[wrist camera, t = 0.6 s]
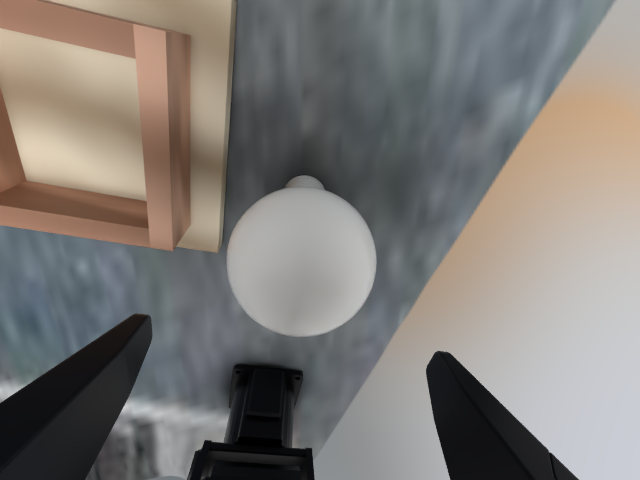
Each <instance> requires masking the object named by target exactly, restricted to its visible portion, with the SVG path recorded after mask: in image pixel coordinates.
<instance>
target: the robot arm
mask: <svg viewBox="0 0 640 480" xmlns="http://www.w3.org/2000/svg"><path fill="white" fill-rule="evenodd" d="M151 340H152V323H151V317H150V316H149V315H145V314H134V315H132V316H130V317H129V318H127V319H126V320H124V321H123V322H121V323H120V324H118V325H117V326H115V327H114V328H112V329H111V330H109V331H108V332H106V333H105V334H103V335H102V336H100V337H99V338H97V339H96V340H94V341H93V342H91V343H90V344H88V345H87V346H85V347H84V348H82V349H81V350H79V351H78V352H76V353H75V354H73V355H72V356H70V357H69V358H67V359H66V360H64V361H63V362H61V363H60V364H58V365H57V366H55V367H54V368H52V369H51V370H49V371H48V372H46V373H45V374H43V375H42V376H40V377H39V378H37V379H36V380H34V381H33V382H31V383H30V384H28V385H27V386H25V387H24V388H22V389H21V390H19V391H18V392H16V393H15V394H13V395H12V396H10V397H9V398H7V399H6V400H4V401H3V402H1V403H0V480H85V479H86V477H87V475H88V473H89V471H90V469H91V467H92V465H93V463H94V462H95V460H96V458H97V456H98V454H99V452H100V450H101V448H102V446H103V445H104V443H105V441H106V439H107V437H108V435H109V433H110V431H111V429H112V428H113V426H114V424H115V422H116V420H117V418H118V416H119V414H120V412H121V410H122V409H123V407H124V405H125V403H126V401H127V399H128V397H129V395H130V393H131V391H132V388H133V386H134V383H135V381H136V378H137V376H138V373H139V371H140V368H141V366H142V363H143V361H144V358H145V356H146V353H147V351H148V348H149V346H150V343H151ZM426 375H427V381H428V387H429V393H430V398H431V405H432V410H433V416H434V421H435V425H436V429H437V432H438V436H439V440H440V443H441V447H442V451H443V454H444V458H445V462H446V465H447V469H448V473H449V476H450V480H579V479H578V478H576V477H575V476H574V475H573V474H572V473H571V472H570V471H569V470H568V469H567V468H566V467H565V466H564V465H563V464H562V463H561V462H560V461H559V460H558V459H557V458H556V457H555V456H554V455H553V454H552V453H549V451H548V449H547V448H546V447H545V446H543V445H542V443H541V442H540V441H538V440H537V438H536V437H534V435H532V434H531V433H530V432H529V431H528V430H527V429H526V428H525V427H524V426H523V425H522V424H521V423H520V422H519V421H518V420H517V419H516V418H515V417H514V416H513V415H512V414H511V413H510V412H509V411H508V410H507V409H506V408H505V407H504V406H503V405H502V404H501V403H500V402H499V401H498V400H497V399H496V398H495V397H494V396H493V395H492V394H491V393H490V392H489V391H488V390H487V389H486V388H485V387H484V386H483V385H482V384H481V383H480V382H479V381H478V380H477V379H476V378H475V377H474V376H473V375H472V374H471V373H470V372H469V371H468V370H467V369H466V368H465V367H463V366H462V364H460V362H458V361H457V360H456V359H455V358H454V357H453V356H452V355H451V354H450V353H448V352H443V351H437V352H435V354H434V355H433V357H432V359H431V360H430V362H429V364H428V366H427V369H426ZM302 381H303V373H302V372H299V371H291V370H282V369H272V368H263V367H254V366H244V365H236V366H234V368H233V373H232V383H231V392H230V401H229V408H230V409H231V411H230V415H229V420H228V424H227V429H226V434H225V438H224V443H218V442H212V441H210V440H205V441H204V444H203V447H202V449H200V450H198V451H196V452H195V455H194V458H193V462H192V465H191V468H190V472H189V475H188V478H187V480H314V469H313V457H312V448H305V449H299V448H292V435H293V411H294V408H295V405H296V401H297V398H298V394H299V391H300V387H301V384H302Z"/></svg>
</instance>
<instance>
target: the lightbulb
mask: <svg viewBox="0 0 640 480" xmlns="http://www.w3.org/2000/svg"><path fill="white" fill-rule="evenodd" d="M226 265H227V275H228V280H229V283H230V287H231V289H232V292H233V294H234V296H235V298H236V300H237V302H238V303H239V305H240V306H241V307H242V309H243V310H244V311H245V312H246V313H247V314H248V315H249V316H250V317H251V318H252V319H253V320H254V321H255V322H257V323H258V324H260V325H261V326H263V327H265V328H266V329H268V330H271V331H273V332H275V333H278V334H282V335H286V336H292V337H310V336H317V335H321V334H324V333H327V332H330V331H332V330H334V329H336V328H338V327H340V326H341V325H343V324H344V323H346V322H347V321H348V320H350V319H351V318H352V317H353V316H354V315H355V314H356V313H357V312H358V311H359V310H360V308H361V307H362V306H363V304H364V303H365V301H366V300H367V298H368V296H369V294H370V292H371V289H372V286H373V283H374V280H375V275H376V267H377V256H376V248H375V243H374V240H373V237H372V234H371V232H370V229H369V227H368V225H367V224H366V222H365V220H364V219H363V217H362V216H361V215H360V214H359V212H358V211H357V210H356V209H355V208H354V207H353V206H352V205H351V204H349V203H348V202H347V201H345V200H344V199H343V198H341V197H339V196H338V195H336V194H334V193H331V192H329V191H326V190H325V189H324V187H323V185H322V184H321V182H320V181H318V180H317V179H316V178H314V177H311V176H307V175H302V176H297V177H295V178H293V179H291V180H290V181H289V182H288V183H287V184H286V186H285V188H284V189H281V190H278V191H275V192H272V193H270V194H268V195H266V196H264V197H263V198H261V199H260V200H258V201H257V202H255V203H254V204H253V205H252V206H251V207H250V208H249V209H248V210H247V211H246V212H245V213H244V214H243V215H242V217H241V218H240V220H239V221H238V223H237V224H236V226H235V228H234V230H233V232H232V235H231V237H230V240H229V244H228V249H227V259H226Z"/></svg>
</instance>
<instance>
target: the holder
mask: <svg viewBox="0 0 640 480" xmlns="http://www.w3.org/2000/svg"><path fill="white" fill-rule="evenodd" d="M236 10H237V2H236V1H235V0H0V225H5V226H11V227H18V228H24V229H31V230H37V231H44V232H51V233H57V234H64V235H70V236H77V237H84V238H90V239H97V240H103V241H110V242H117V243H123V244H130V245H136V246H143V247H149V248H156V249H163V250H169V251H173V250H174V249H175V247H182V248H189V249H195V250H202V251H208V252H215V253H218V252H219V249H220V247H221V245H222V238H223V221H224V205H225V189H226V173H227V156H228V140H229V124H230V108H231V91H232V75H233V59H234V43H235V26H236Z"/></svg>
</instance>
